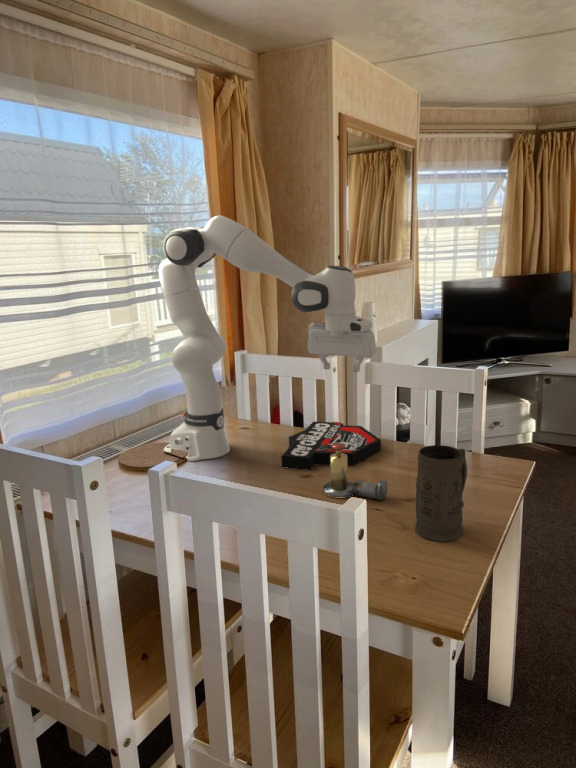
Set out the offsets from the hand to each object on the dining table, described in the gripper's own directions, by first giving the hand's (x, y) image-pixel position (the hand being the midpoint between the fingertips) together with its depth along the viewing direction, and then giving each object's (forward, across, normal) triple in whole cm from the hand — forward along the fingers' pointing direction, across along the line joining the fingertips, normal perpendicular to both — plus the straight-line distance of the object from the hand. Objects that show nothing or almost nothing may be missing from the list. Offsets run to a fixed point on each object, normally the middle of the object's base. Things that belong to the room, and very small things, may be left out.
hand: (341, 370), depth 169 cm
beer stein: (+29, +37, -27) cm, 54 cm away
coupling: (+29, +11, -19) cm, 36 cm away
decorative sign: (+30, -7, +9) cm, 32 cm away
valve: (+28, +7, -19) cm, 34 cm away
